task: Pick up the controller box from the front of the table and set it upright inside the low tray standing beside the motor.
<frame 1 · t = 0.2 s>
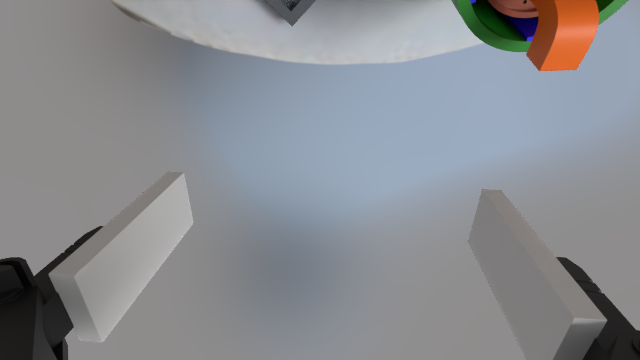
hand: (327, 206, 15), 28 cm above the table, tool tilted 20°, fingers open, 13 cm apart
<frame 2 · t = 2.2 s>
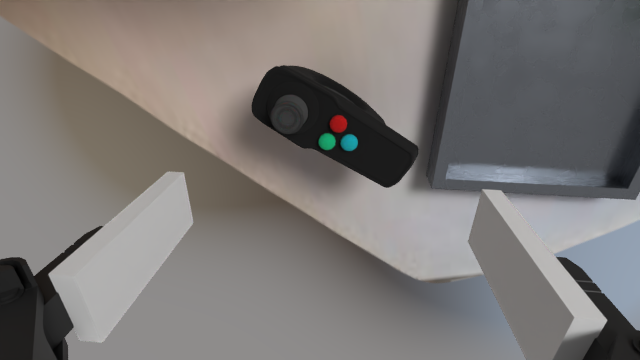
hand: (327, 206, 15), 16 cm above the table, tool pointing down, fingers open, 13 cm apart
controller: (340, 104, 30), on the table
tray: (549, 88, 27), on the table
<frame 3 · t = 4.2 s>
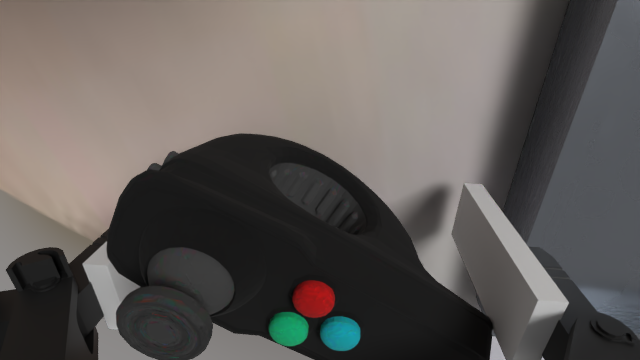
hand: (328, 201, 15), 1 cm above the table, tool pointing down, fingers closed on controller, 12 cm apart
controller: (328, 186, 17), on the table, touching gripper
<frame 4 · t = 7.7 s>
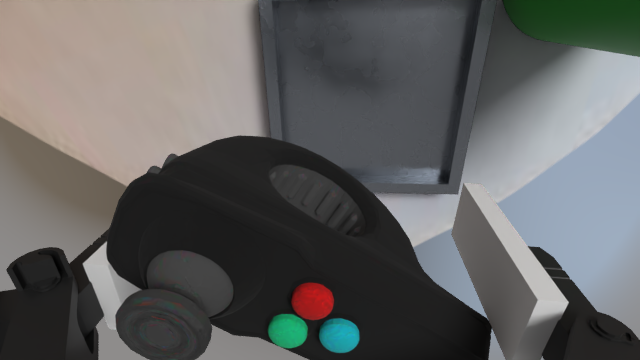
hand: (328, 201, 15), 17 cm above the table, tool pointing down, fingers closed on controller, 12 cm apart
controller: (328, 187, 17), point 15 cm above the table, touching gripper
tray: (367, 94, 29), on the table
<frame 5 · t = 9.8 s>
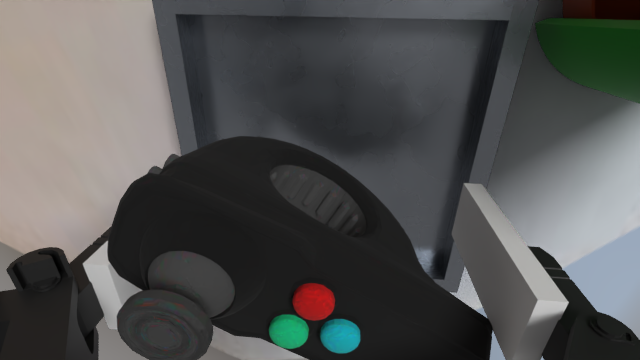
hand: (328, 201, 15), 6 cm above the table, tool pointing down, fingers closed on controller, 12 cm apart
controller: (328, 187, 17), point 4 cm above the table, touching gripper
tray: (333, 150, 21), on the table
when the fingers open (4 cm above the table, at t = 11.3 s): controller drops 2 cm, resting on tray.
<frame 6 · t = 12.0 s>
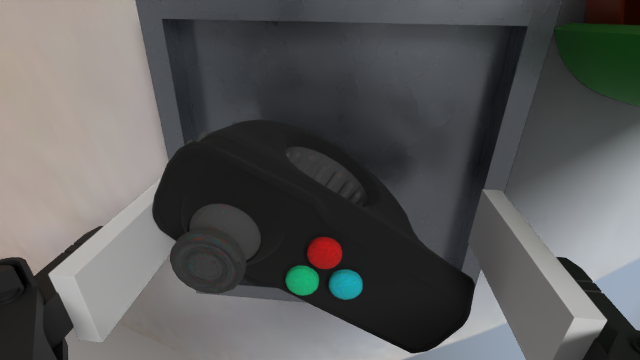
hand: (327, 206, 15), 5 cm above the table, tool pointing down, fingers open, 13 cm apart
controller: (334, 170, 18), point 1 cm above the table, touching tray
tray: (334, 164, 19), on the table
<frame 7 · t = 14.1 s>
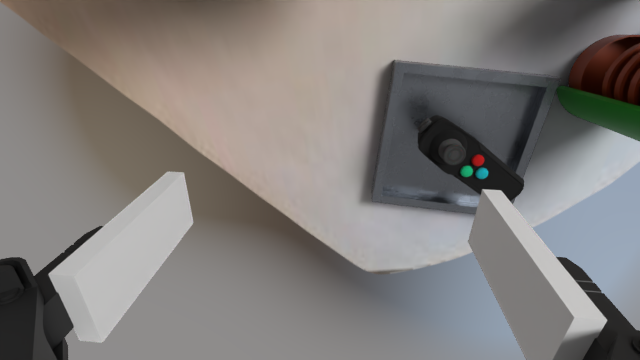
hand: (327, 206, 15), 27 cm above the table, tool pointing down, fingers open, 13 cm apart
controller: (452, 142, 40), point 1 cm above the table, touching tray
motor: (609, 76, 36), on the table
tray: (450, 139, 41), on the table
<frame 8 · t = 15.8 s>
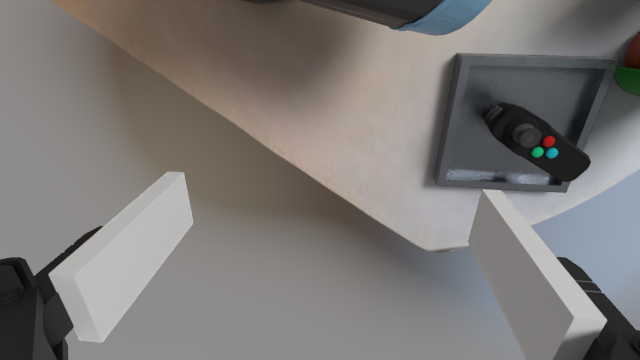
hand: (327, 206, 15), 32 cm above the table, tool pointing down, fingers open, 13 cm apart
controller: (513, 125, 43), point 1 cm above the table, touching tray
tray: (510, 123, 44), on the table
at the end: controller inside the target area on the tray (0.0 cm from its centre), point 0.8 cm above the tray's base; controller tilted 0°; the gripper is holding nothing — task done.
